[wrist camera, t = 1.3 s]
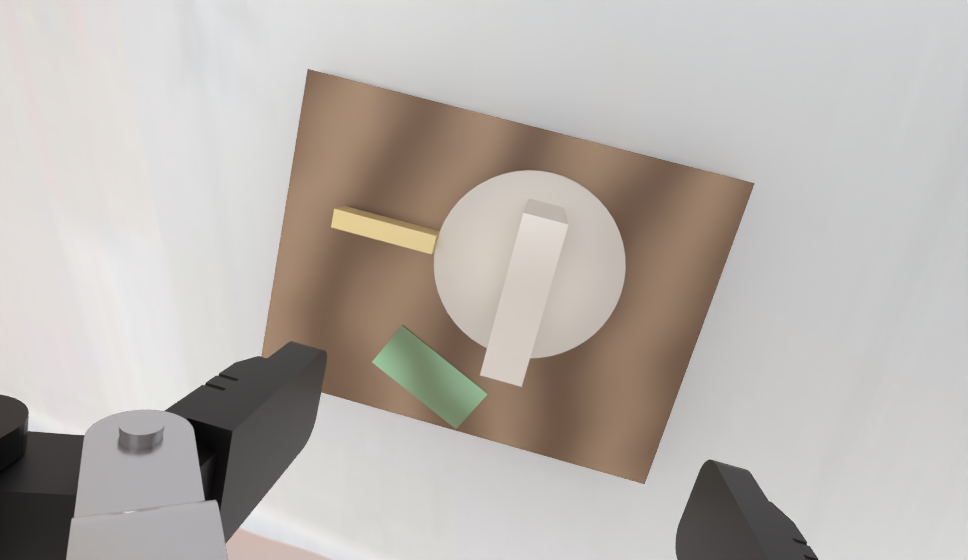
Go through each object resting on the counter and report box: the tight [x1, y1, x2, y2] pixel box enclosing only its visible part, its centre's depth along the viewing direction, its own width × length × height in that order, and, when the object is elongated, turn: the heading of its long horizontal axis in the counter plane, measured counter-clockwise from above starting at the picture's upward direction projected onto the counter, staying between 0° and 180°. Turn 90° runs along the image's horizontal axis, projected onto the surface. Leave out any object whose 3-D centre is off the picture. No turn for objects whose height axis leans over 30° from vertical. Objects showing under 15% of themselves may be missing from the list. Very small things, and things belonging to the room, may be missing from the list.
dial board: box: [261, 69, 754, 484], centre depth 32 cm, size 24×18×2 cm
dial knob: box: [331, 170, 626, 387], centre depth 26 cm, size 16×10×8 cm, turn 76°
